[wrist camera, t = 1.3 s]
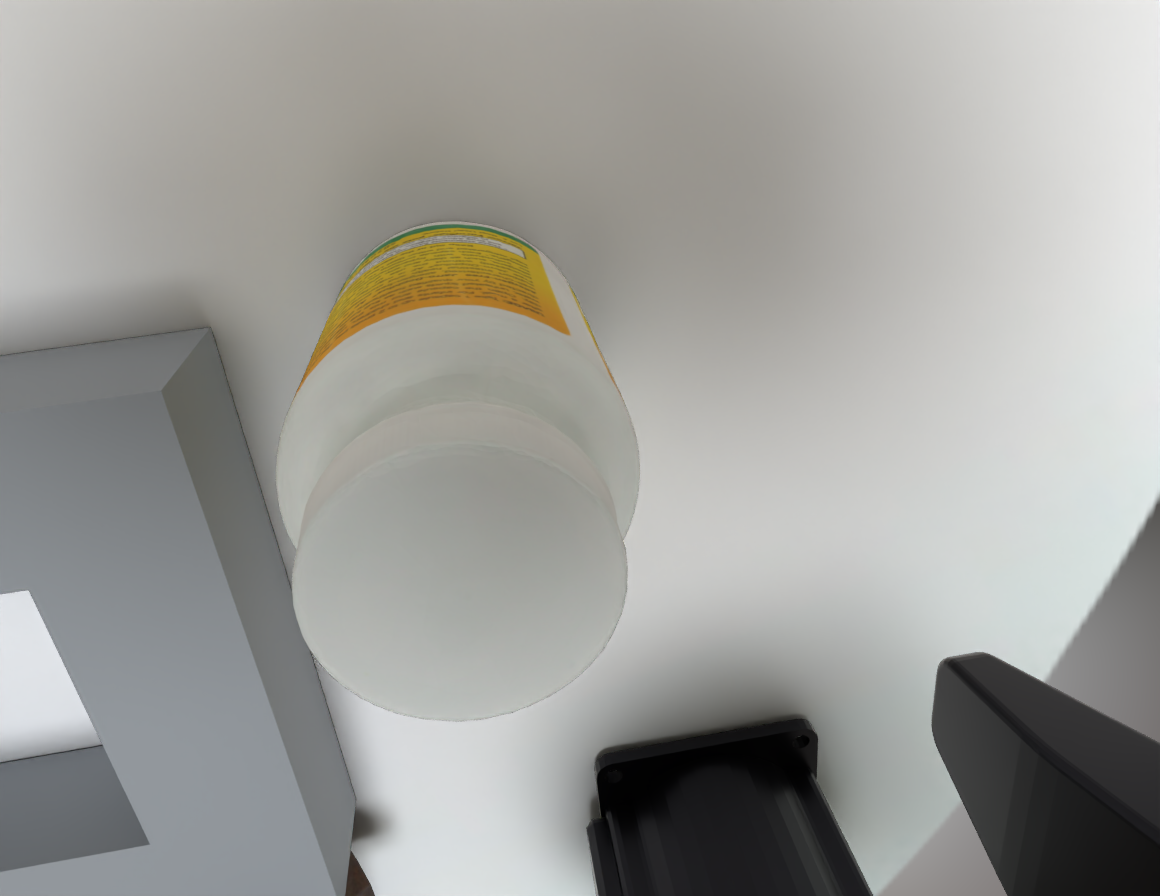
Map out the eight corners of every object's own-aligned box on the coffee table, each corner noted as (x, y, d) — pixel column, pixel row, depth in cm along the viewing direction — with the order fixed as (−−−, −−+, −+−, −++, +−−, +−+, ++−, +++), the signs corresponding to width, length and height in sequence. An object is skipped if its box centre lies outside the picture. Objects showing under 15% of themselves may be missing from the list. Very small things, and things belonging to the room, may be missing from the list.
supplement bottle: (628, 342, 19) (774, 593, 11) (456, 491, 20) (465, 827, 12) (459, 156, 17) (473, 286, 9) (276, 334, 18) (125, 608, 10)
